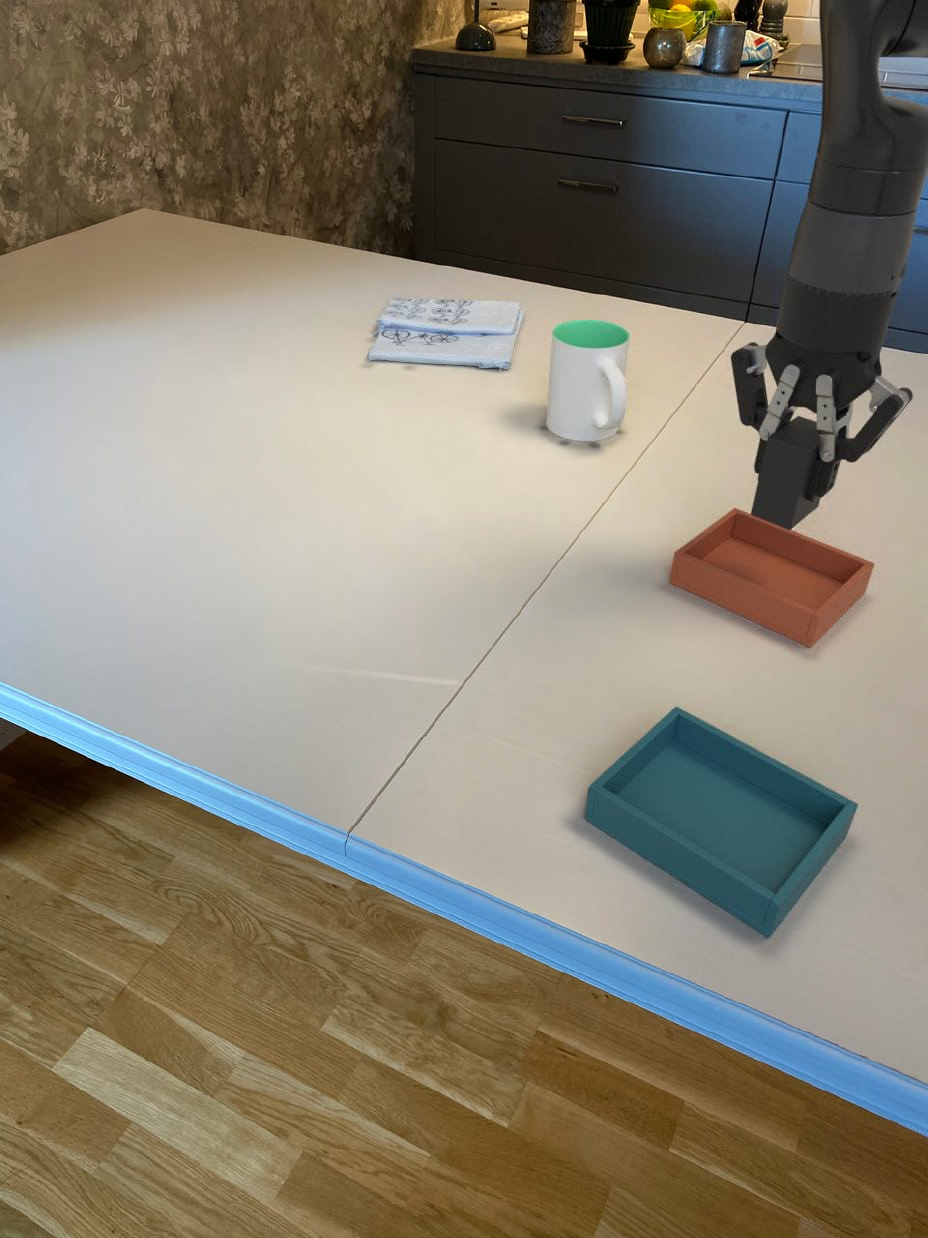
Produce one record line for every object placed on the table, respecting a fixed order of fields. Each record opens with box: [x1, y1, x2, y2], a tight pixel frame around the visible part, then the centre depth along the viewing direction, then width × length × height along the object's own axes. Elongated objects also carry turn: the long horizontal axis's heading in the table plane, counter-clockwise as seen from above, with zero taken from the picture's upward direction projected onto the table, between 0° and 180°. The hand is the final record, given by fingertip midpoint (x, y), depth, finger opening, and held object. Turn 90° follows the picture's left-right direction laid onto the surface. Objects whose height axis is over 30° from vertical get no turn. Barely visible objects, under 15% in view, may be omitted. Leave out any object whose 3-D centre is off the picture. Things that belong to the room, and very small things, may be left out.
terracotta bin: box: [668, 507, 875, 648], centre depth 83 cm, size 13×10×3 cm
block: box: [750, 415, 822, 530], centre depth 77 cm, size 4×5×7 cm
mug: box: [545, 319, 631, 442], centre depth 104 cm, size 12×8×10 cm, turn 22°
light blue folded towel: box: [367, 297, 526, 372], centre depth 128 cm, size 19×20×2 cm
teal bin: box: [583, 706, 859, 939], centre depth 62 cm, size 13×10×3 cm
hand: (790, 487), depth 78 cm, fingers closed on block, 3 cm apart
